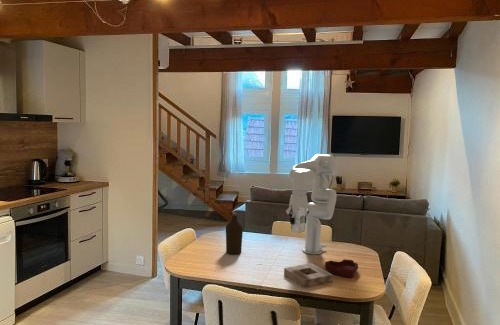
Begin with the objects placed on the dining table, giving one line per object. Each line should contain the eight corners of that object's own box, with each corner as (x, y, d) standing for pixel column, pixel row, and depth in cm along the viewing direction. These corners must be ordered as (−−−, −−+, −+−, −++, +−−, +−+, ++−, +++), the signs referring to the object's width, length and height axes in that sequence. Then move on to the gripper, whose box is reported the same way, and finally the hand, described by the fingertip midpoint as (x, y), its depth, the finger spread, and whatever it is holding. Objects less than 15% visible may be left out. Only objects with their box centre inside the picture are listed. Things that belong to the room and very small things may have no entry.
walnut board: (311, 270, 217) (311, 263, 216) (332, 282, 201) (332, 274, 201) (284, 275, 209) (284, 267, 208) (303, 288, 193) (303, 280, 192)
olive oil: (232, 256, 236) (232, 215, 233) (221, 251, 244) (222, 212, 241) (245, 253, 242) (246, 213, 240) (235, 248, 251) (236, 210, 248)
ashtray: (336, 280, 203) (336, 271, 203) (322, 269, 219) (322, 260, 219) (366, 277, 208) (366, 268, 208) (350, 267, 224) (350, 258, 224)
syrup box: (296, 229, 225) (297, 204, 224) (305, 231, 222) (305, 206, 220) (290, 231, 221) (291, 206, 219) (299, 233, 217) (300, 207, 216)
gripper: (307, 190, 226) (306, 220, 228) (282, 192, 218) (281, 223, 220) (315, 192, 219) (314, 223, 222) (289, 195, 211) (288, 226, 214)
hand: (298, 223), depth 221 cm, fingers closed on syrup box, 7 cm apart
